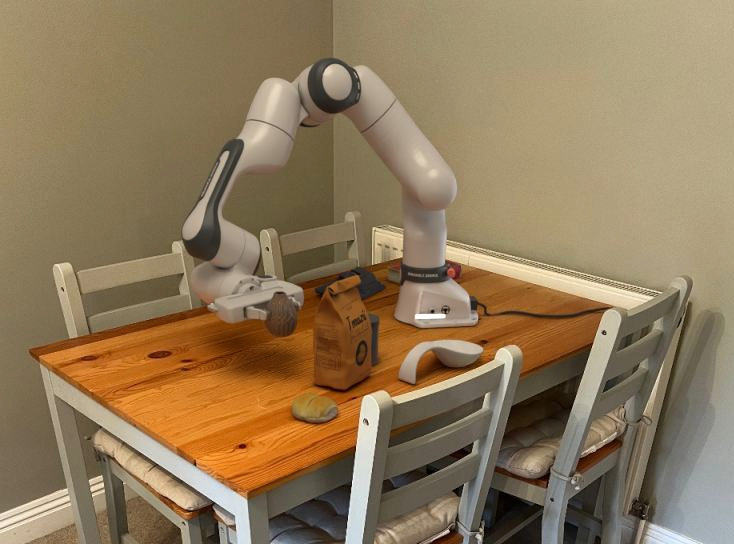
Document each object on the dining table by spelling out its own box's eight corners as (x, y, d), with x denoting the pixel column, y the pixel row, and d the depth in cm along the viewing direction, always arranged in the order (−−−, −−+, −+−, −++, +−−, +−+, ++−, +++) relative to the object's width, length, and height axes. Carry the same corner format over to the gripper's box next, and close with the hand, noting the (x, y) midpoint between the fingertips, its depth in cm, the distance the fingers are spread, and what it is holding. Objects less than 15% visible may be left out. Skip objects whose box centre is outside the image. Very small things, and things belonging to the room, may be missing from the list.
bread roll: (307, 402, 152) (307, 384, 150) (343, 413, 148) (343, 394, 146) (282, 416, 146) (281, 397, 144) (319, 428, 142) (319, 408, 140)
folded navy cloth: (305, 296, 213) (305, 279, 210) (346, 278, 229) (346, 263, 226) (351, 305, 207) (351, 288, 204) (389, 286, 223) (390, 270, 220)
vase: (300, 329, 159) (299, 288, 154) (294, 340, 153) (293, 298, 149) (268, 327, 160) (266, 286, 155) (261, 338, 154) (259, 296, 149)
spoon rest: (451, 349, 179) (454, 320, 175) (491, 362, 172) (495, 332, 168) (386, 376, 164) (387, 345, 160) (427, 391, 158) (429, 359, 154)
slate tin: (378, 355, 175) (379, 313, 169) (378, 367, 168) (379, 323, 163) (347, 355, 175) (347, 312, 169) (346, 367, 168) (346, 323, 163)
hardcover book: (461, 277, 232) (462, 263, 230) (412, 289, 221) (413, 274, 219) (434, 269, 240) (435, 255, 238) (386, 280, 228) (386, 266, 226)
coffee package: (378, 378, 163) (381, 277, 151) (344, 396, 155) (344, 291, 143) (342, 367, 168) (342, 268, 156) (307, 384, 160) (304, 281, 148)
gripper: (201, 291, 153) (241, 307, 145) (278, 273, 166) (319, 287, 157) (204, 320, 157) (243, 338, 149) (280, 301, 169) (320, 316, 161)
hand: (283, 312), depth 153 cm, fingers closed on vase, 7 cm apart
